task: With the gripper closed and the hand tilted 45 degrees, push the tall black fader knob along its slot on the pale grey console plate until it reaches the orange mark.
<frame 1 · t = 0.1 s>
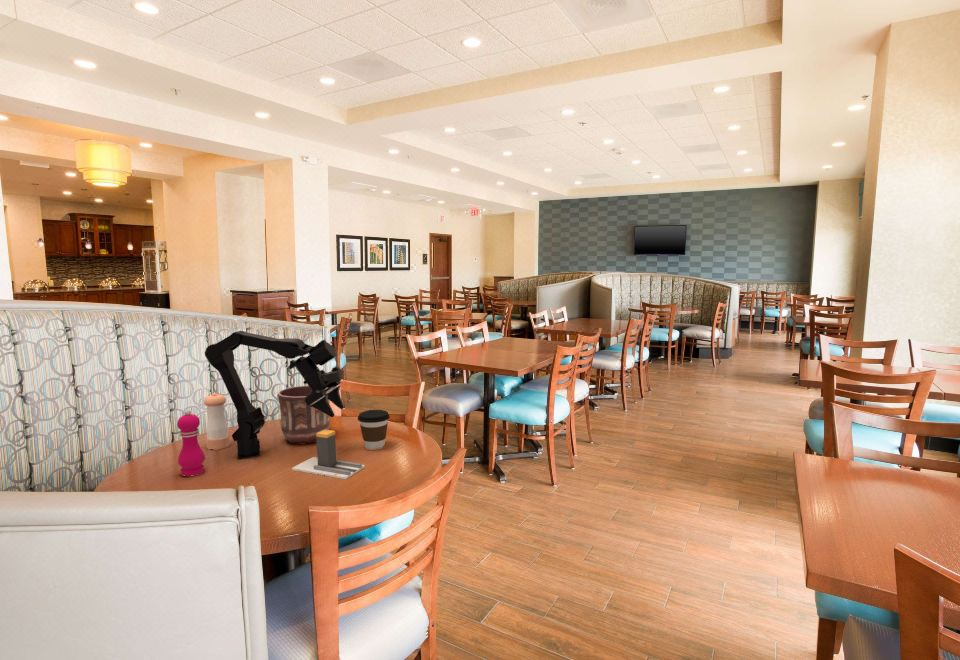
hand: (338, 412, 173), 15 cm above the table, tool tilted 35°, fingers open, 9 cm apart
pepper shaker: (218, 446, 185), on the table
pottery: (306, 439, 192), on the table
coffee cup: (374, 447, 183), on the table
console plate: (328, 468, 164), on the table
fader knob: (326, 449, 163), point 6 cm above the table, slide at 0.0 cm, touching console plate
pepper mill: (192, 473, 161), on the table
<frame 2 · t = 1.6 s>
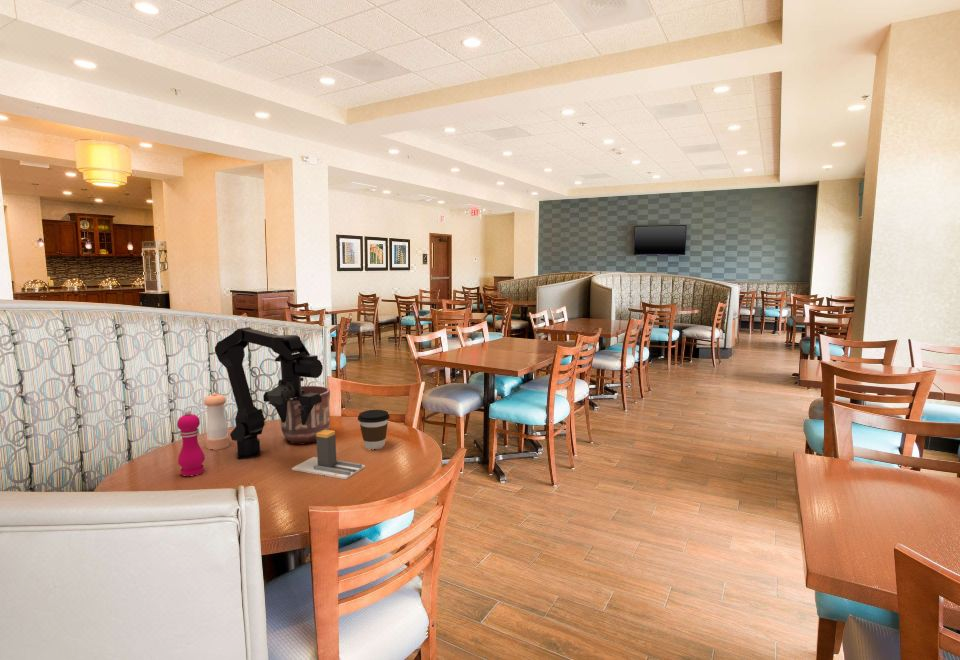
hand: (293, 423, 167), 13 cm above the table, tool pointing down, fingers open, 8 cm apart
nothing on the table moved.
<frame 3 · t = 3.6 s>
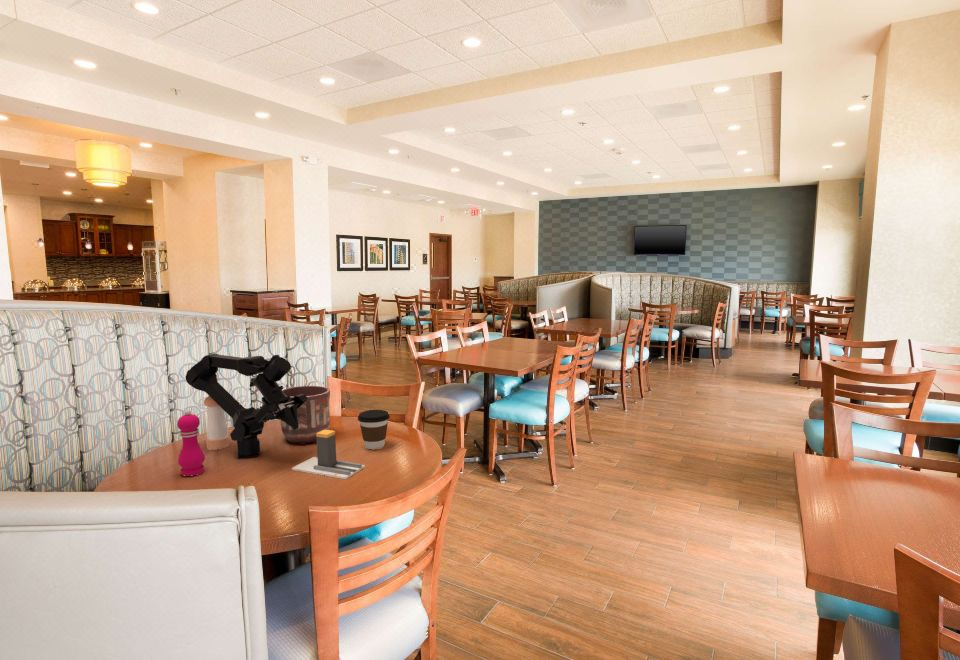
hand: (297, 428, 167), 12 cm above the table, tool tilted 40°, fingers closed
pepper shaker: (218, 447, 185), on the table, touching arm
everything else where it was.
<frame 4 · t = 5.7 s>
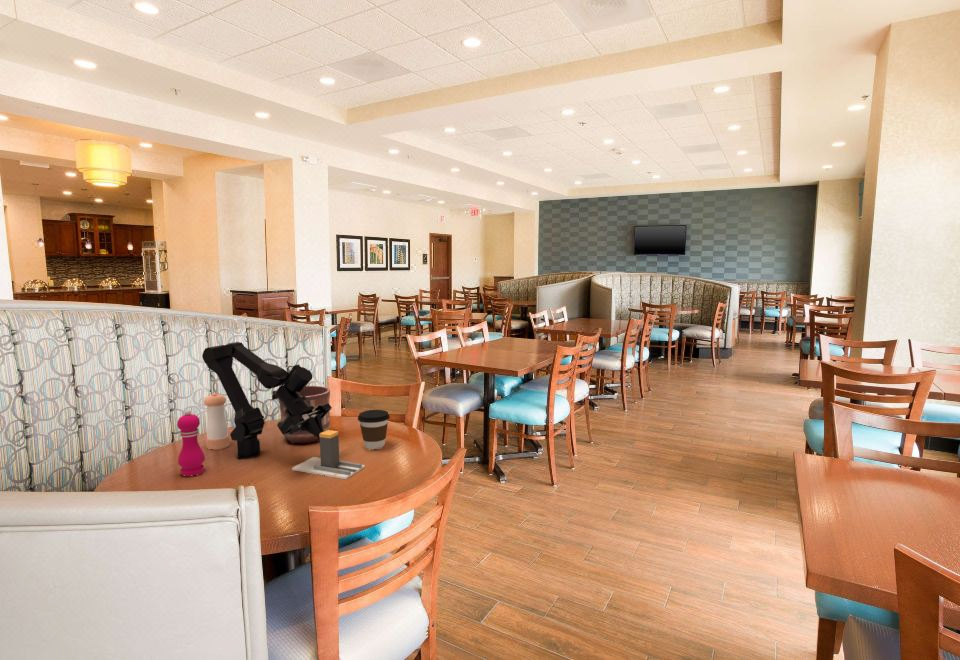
hand: (323, 438, 163), 10 cm above the table, tool tilted 45°, fingers closed, pressing on fader knob
pepper shaker: (218, 446, 185), on the table
fader knob: (329, 449, 163), point 6 cm above the table, slide at 1.2 cm, touching console plate, gripper
everything else where it was.
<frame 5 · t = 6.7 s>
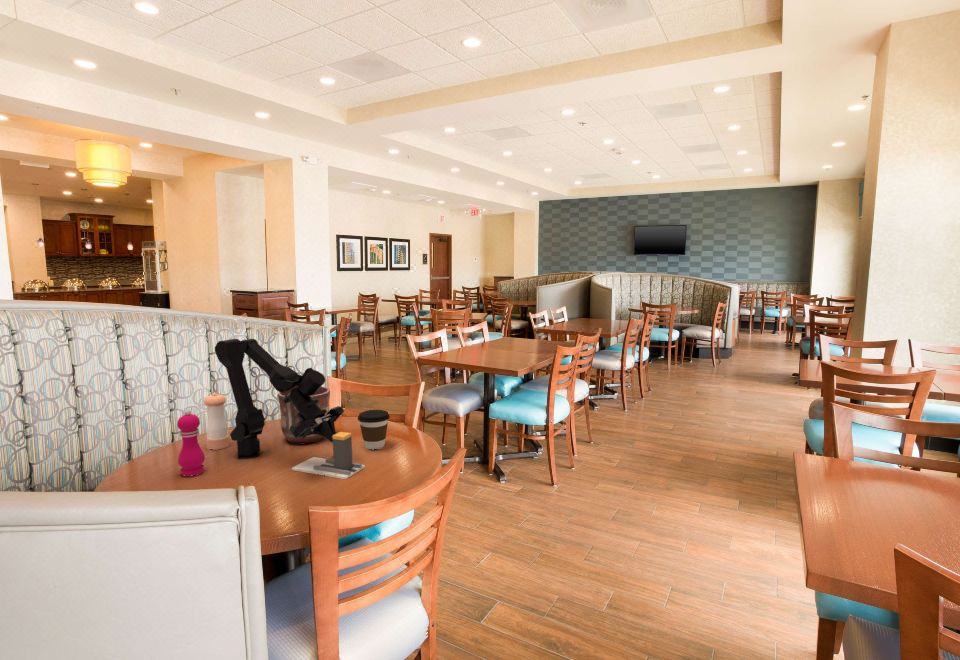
hand: (336, 442, 162), 9 cm above the table, tool tilted 45°, fingers closed, pressing on fader knob
fader knob: (342, 451, 161), point 6 cm above the table, slide at 6.1 cm, touching console plate, gripper
everything else where it was.
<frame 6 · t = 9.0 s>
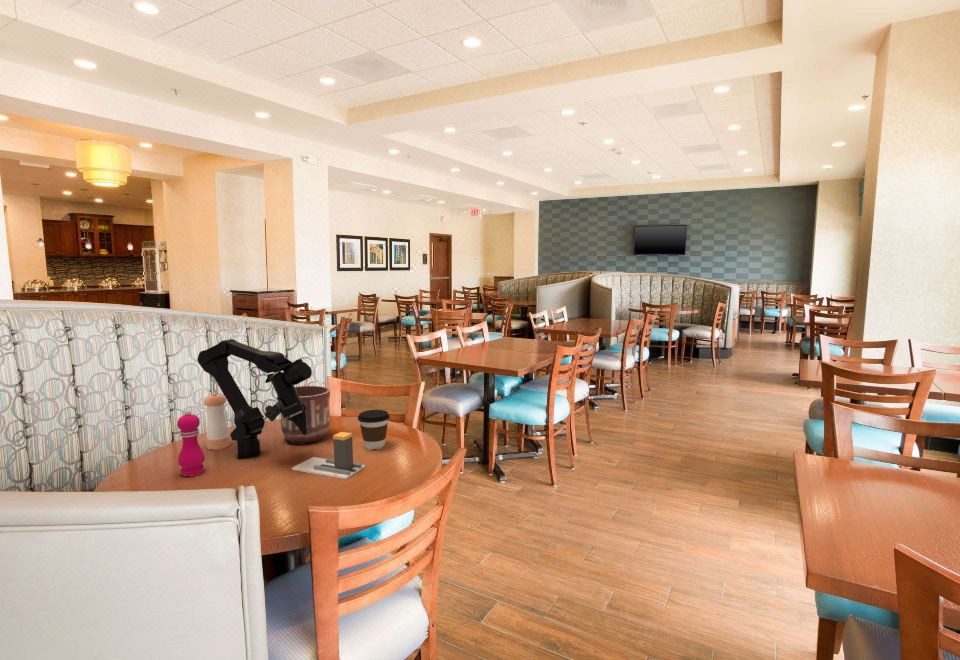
hand: (305, 434, 167), 9 cm above the table, tool tilted 25°, fingers closed
fader knob: (343, 451, 161), point 6 cm above the table, slide at 6.3 cm, touching console plate
everything else where it was.
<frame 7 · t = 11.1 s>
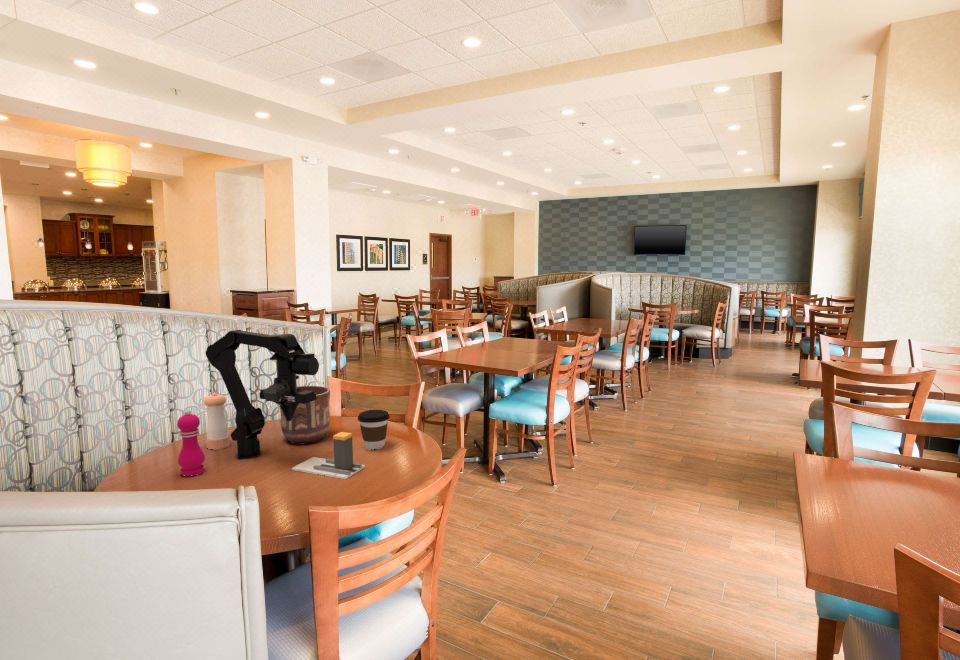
hand: (289, 420, 170), 13 cm above the table, tool pointing down, fingers closed
nothing on the table moved.
at the end: fader knob slide at 6.3 cm; fader knob touching console plate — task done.
